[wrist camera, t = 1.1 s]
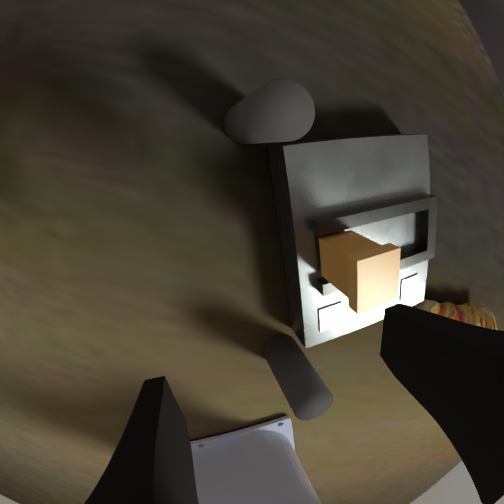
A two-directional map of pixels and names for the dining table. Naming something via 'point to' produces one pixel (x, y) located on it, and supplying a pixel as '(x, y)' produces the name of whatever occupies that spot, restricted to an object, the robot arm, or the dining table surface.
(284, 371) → the cylinder
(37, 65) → the dining table surface
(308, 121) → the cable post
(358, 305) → the switch knob
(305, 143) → the panel
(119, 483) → the robot arm
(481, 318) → the croissant
